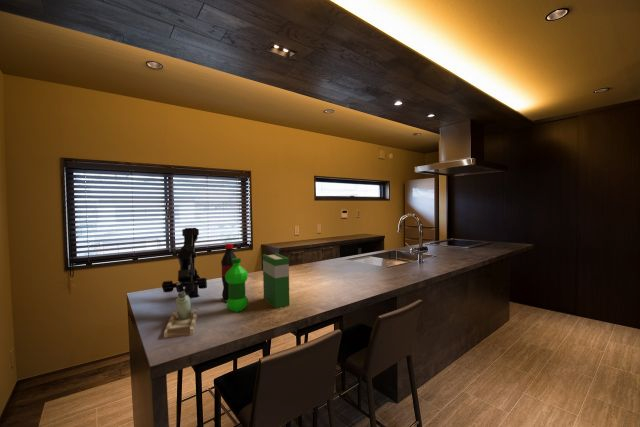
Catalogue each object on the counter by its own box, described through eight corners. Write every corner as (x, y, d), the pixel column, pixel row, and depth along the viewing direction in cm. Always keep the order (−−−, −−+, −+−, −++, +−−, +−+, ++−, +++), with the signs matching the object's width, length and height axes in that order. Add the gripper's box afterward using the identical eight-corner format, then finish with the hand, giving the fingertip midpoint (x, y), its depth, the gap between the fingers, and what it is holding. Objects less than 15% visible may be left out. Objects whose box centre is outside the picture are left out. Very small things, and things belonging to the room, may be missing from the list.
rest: (173, 316, 134) (173, 308, 134) (198, 313, 138) (197, 306, 138) (164, 339, 112) (163, 330, 112) (193, 335, 115) (193, 326, 115)
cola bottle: (241, 297, 159) (240, 243, 158) (232, 302, 152) (230, 245, 150) (228, 296, 162) (227, 242, 161) (218, 301, 154) (217, 244, 153)
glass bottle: (188, 306, 135) (186, 287, 127) (193, 315, 132) (191, 296, 124) (176, 311, 132) (172, 292, 124) (180, 321, 129) (176, 301, 120)
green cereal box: (263, 298, 158) (262, 254, 157) (276, 296, 162) (275, 253, 161) (275, 308, 143) (274, 259, 142) (289, 305, 146) (288, 258, 145)
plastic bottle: (225, 308, 144) (223, 257, 143) (246, 305, 148) (245, 256, 147) (227, 315, 135) (225, 261, 134) (250, 311, 139) (249, 259, 138)
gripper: (161, 263, 133) (157, 295, 123) (205, 260, 139) (205, 290, 129) (165, 277, 141) (162, 307, 131) (207, 273, 147) (206, 302, 136)
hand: (184, 301), depth 131 cm, fingers closed
